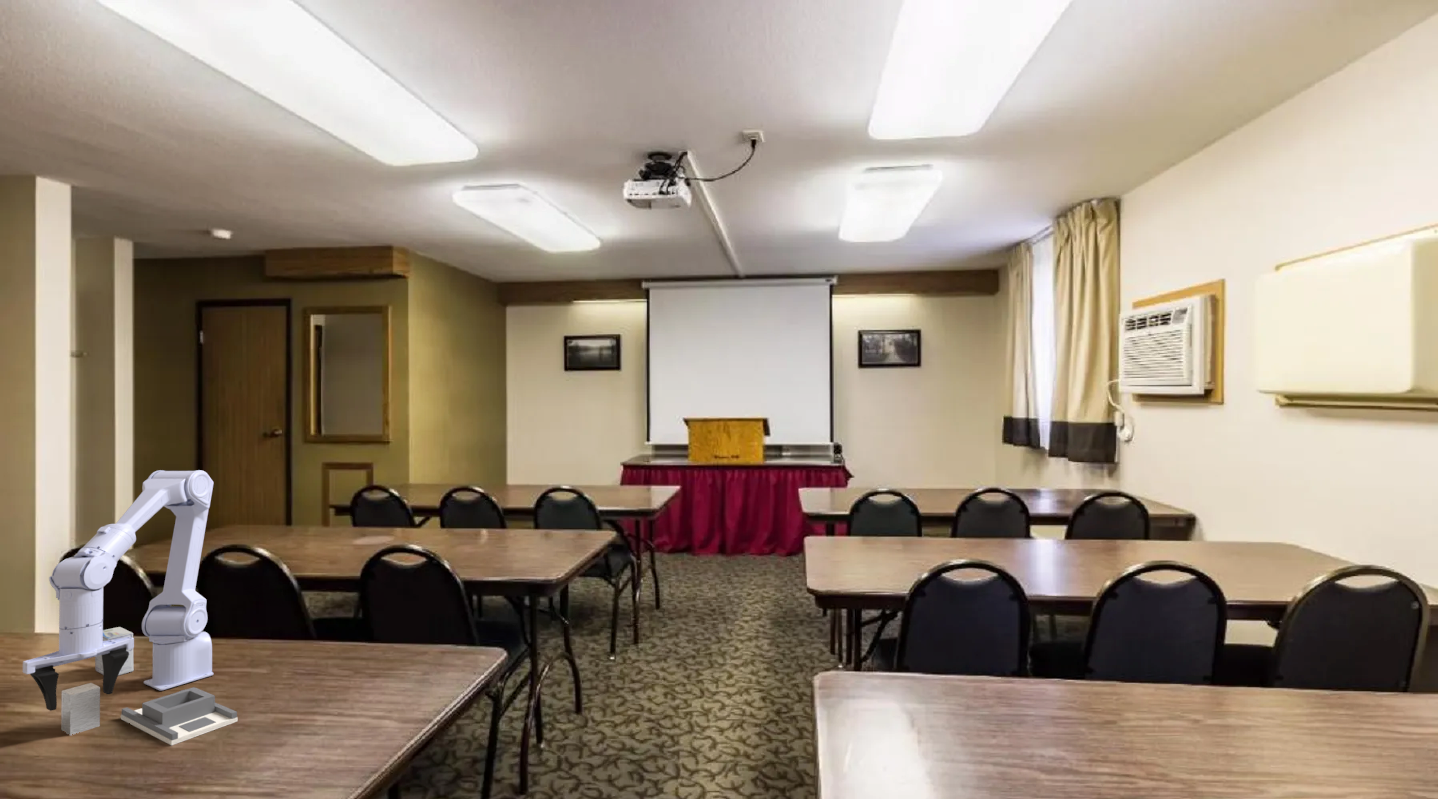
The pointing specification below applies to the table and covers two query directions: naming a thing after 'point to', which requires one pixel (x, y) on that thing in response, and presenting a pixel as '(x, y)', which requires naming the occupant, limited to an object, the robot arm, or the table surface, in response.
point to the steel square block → (80, 708)
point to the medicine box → (128, 665)
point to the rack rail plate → (180, 716)
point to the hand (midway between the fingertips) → (80, 700)
